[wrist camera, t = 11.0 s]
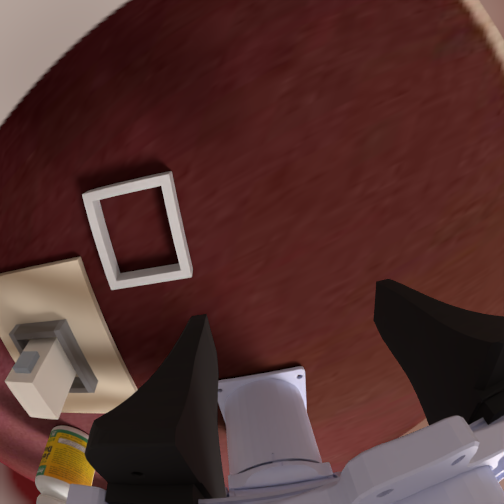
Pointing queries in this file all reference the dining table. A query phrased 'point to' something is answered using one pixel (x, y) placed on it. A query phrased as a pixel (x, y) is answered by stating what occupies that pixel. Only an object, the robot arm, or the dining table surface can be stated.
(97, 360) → the port board
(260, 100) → the dining table surface
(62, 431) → the supplement bottle
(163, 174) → the white picture frame
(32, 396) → the plug
